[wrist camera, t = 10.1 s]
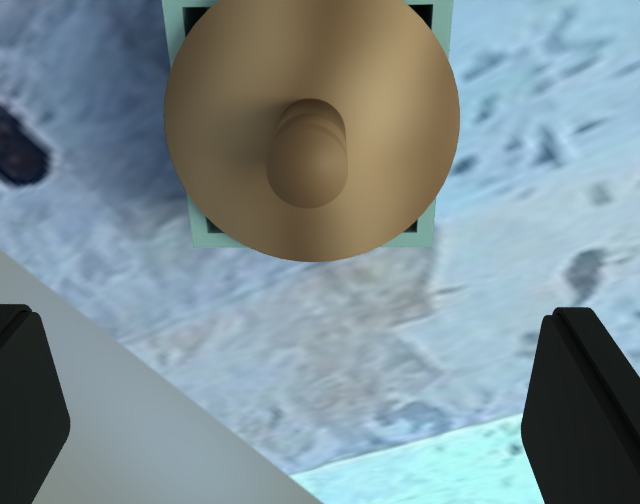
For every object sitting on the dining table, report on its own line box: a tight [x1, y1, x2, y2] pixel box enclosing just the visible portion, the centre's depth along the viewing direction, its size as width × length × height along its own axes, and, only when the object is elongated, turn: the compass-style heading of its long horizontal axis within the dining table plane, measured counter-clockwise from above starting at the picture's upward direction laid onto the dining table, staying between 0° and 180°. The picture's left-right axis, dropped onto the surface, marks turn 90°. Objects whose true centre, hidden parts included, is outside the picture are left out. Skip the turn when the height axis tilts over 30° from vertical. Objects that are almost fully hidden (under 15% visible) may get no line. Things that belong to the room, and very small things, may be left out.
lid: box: [164, 0, 460, 262], centre depth 24 cm, size 13×13×6 cm
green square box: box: [162, 0, 453, 248], centre depth 29 cm, size 12×12×6 cm
